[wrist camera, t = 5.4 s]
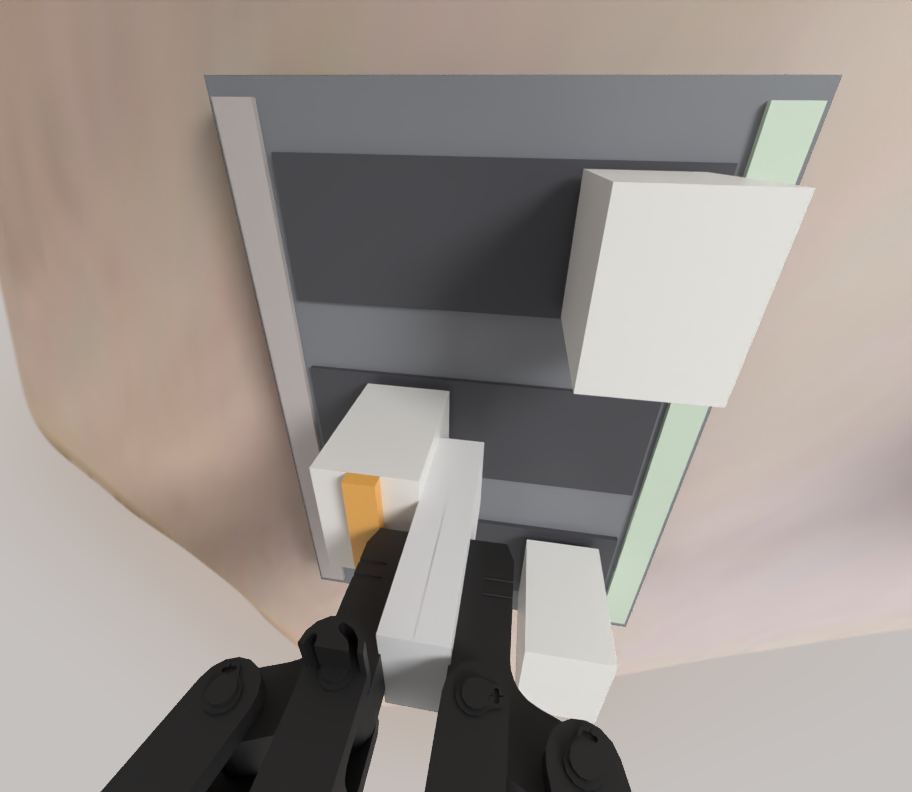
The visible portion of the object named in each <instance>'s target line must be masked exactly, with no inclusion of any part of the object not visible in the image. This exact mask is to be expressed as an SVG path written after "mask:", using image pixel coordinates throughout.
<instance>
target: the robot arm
mask: <svg viewBox="0 0 912 792" xmlns="http://www.w3.org/2000/svg"><path fill="white" fill-rule="evenodd" d="M483 455H484V442H477V441H468V440H458V439H449V438H440V439H439V442H438V445H437V448H436V451H435V454H434V458H433V461H432V464H431V467H430V470H429V473H428V476H427V480H426V483H425V486H424V489H423V492H422V495H421V498H420V501H419V502H418V505H417V508H416V512H415V515H414V518H413V521H412V524H411V527H410V530H409V532H407V531H400V530H392V529H385V528H380V529H379V530H378V531H377V532H376V533H375V534H374V535H373V536H372V537H371V538H370V539H369V540H368V541H367V543H366V546H365V548H364V550H363V553H362V555H361V558H360V562H358V565H357V567H356V569H355V572H354V576H353V577H352V579H351V581H350V584H349V586H348V589H347V591H346V593H345V596H344V598H343V600H342V603H341V605H340V608H339V610H338V612H337V615H336V616H330V617H327V618H325V619H322V620H319V621H317V622H316V623H315V624H313V625H312V626H311V627H310V628H308V629H307V630H306V631H305V633H304V634H303V636H302V637H301V639H300V640H299V642H298V646H299V649H300V652H301V655H302V658H301V659H299V660H295V661H292V662H288V663H283V664H278V665H272V666H266V667H262V668H258V667H257V666H256V665H255V664H254V663H253V662H252V661H251V660H249V659H245V658H241V657H237V658H232V659H226V660H224V661H222V662H220V663H218V664H216V665H214V666H213V667H211V668H210V669H209V670H208V671H207V672H206V673H205V674H204V675H203V676H201V677H200V678H199V679H198V680H197V682H196V683H195V684H194V685H193V686H192V687H191V689H190V690H189V691H188V692H187V693H186V694H185V695H184V696H183V698H182V699H181V700H180V701H179V702H178V703H177V705H176V706H175V707H174V708H173V709H172V710H171V712H170V713H169V714H168V715H167V716H166V717H165V718H164V720H163V721H162V722H161V723H160V724H159V725H158V726H157V728H156V729H155V730H154V731H153V732H152V733H151V735H150V736H149V737H148V738H147V739H146V740H145V742H144V743H143V744H142V745H141V746H140V747H139V748H138V750H137V751H136V752H135V753H134V754H133V755H132V756H131V758H130V759H129V760H128V761H127V763H126V764H124V766H123V767H122V768H121V769H120V770H119V771H118V773H117V774H116V775H115V776H114V777H113V778H112V779H111V781H110V782H109V783H108V784H107V785H106V786H105V788H104V789H103V790H102V791H101V792H363V789H364V785H365V781H366V777H367V773H368V770H369V766H370V762H371V758H372V754H373V750H374V746H375V743H376V739H377V734H378V725H379V720H378V714H379V710H380V707H381V703H382V699H383V696H384V695H385V702H387V703H392V704H397V705H402V706H408V707H413V708H418V709H424V710H428V711H434V712H438V717H437V722H436V728H435V734H434V740H433V746H432V751H431V758H430V763H429V770H428V775H427V781H426V787H425V792H631V789H630V786H629V783H628V780H627V777H626V774H625V771H624V768H623V765H622V762H621V759H620V757H619V755H618V753H617V751H616V749H615V747H614V745H613V743H612V742H611V740H610V739H609V738H608V737H607V736H606V735H605V734H604V733H603V731H602V730H601V729H600V728H598V727H596V726H595V725H593V724H591V723H589V722H588V721H586V720H579V719H569V720H566V721H563V722H562V721H560V720H558V719H557V718H555V717H553V716H551V715H550V714H548V713H546V712H545V711H543V710H541V709H540V708H538V707H536V706H535V705H534V704H532V703H531V702H530V701H528V700H527V699H526V698H525V696H524V695H523V694H522V693H521V692H520V690H519V689H518V687H517V685H516V683H515V681H514V679H513V676H512V672H511V667H510V647H511V625H512V602H513V600H512V599H513V580H514V560H513V557H512V555H511V552H510V550H509V547H508V545H507V544H501V543H494V542H487V541H480V540H475V537H476V530H477V523H478V516H479V510H480V502H481V486H482V471H483Z"/></svg>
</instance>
